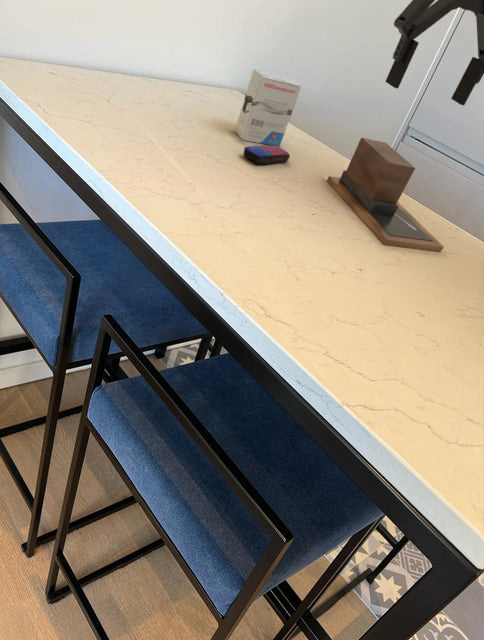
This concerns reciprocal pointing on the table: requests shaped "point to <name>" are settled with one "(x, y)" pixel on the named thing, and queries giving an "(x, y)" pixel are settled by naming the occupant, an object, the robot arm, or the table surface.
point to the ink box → (267, 108)
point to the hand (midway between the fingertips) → (425, 94)
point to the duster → (377, 176)
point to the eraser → (266, 154)
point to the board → (390, 223)
